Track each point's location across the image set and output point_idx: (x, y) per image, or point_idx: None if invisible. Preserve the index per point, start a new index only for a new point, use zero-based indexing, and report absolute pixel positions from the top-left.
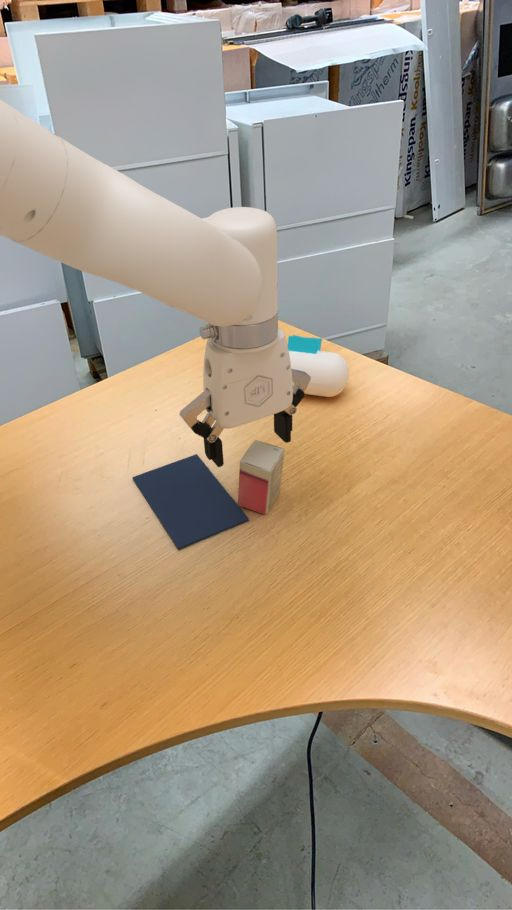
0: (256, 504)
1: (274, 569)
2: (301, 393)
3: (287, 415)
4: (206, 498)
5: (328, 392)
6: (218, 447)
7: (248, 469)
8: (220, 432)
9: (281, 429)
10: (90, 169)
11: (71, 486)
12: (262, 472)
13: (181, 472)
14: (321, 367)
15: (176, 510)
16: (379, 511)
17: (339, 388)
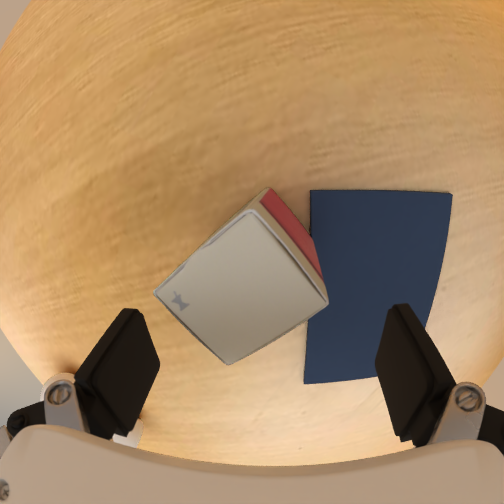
0: (285, 208)
1: (323, 45)
2: (12, 426)
3: (85, 390)
4: (354, 287)
5: (71, 381)
6: (439, 360)
7: (308, 266)
8: (442, 422)
9: (133, 357)
10: None
11: (457, 373)
12: (273, 226)
13: (350, 359)
14: None
15: (411, 282)
16: (72, 111)
17: (56, 377)
